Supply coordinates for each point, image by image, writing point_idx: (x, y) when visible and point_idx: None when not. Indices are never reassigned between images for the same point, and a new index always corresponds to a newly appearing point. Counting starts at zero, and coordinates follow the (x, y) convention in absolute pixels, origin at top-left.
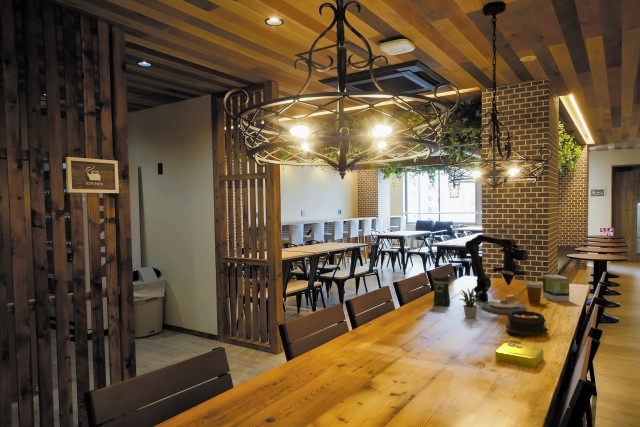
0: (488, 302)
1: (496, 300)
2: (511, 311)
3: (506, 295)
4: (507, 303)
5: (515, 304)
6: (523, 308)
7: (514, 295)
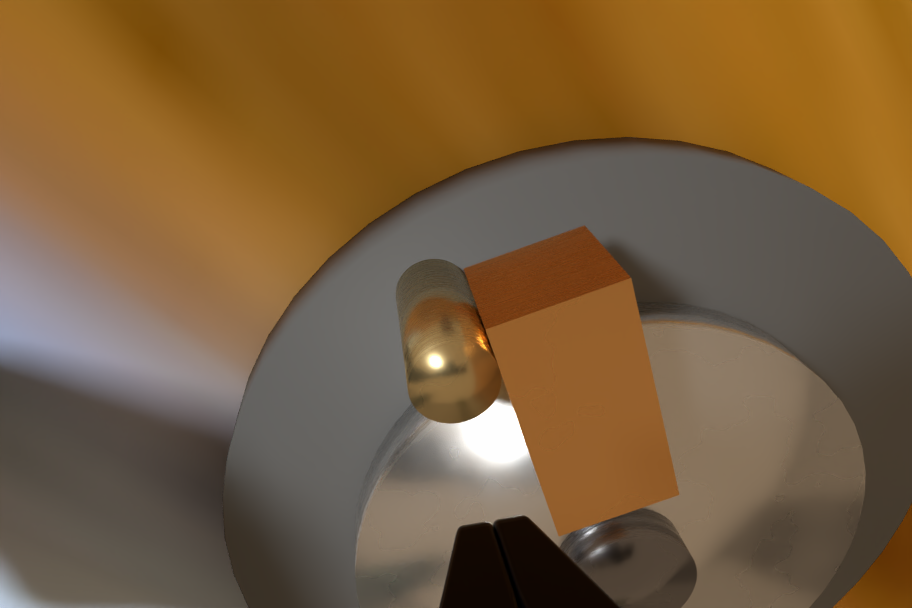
0: (234, 549)
1: (394, 550)
2: (840, 590)
3: (440, 394)
4: (686, 538)
5: (820, 480)
6: (892, 360)
7: (633, 291)
